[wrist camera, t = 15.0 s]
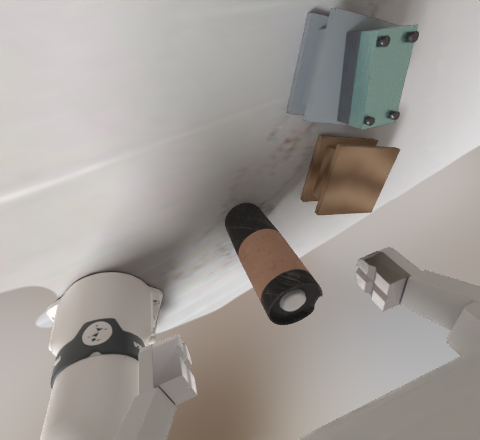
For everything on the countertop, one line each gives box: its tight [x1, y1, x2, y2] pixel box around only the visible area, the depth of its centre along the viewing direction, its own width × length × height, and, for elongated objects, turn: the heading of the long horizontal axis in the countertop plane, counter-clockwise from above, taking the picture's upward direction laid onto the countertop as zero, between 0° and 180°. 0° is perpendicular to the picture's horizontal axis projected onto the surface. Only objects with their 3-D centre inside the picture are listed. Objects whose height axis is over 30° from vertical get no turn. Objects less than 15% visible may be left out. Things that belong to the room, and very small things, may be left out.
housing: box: [337, 25, 419, 130], centre depth 31 cm, size 10×5×6 cm, turn 6°
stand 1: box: [287, 8, 400, 128], centre depth 36 cm, size 12×12×6 cm
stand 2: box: [301, 135, 400, 215], centre depth 46 cm, size 12×12×6 cm
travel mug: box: [225, 203, 322, 325], centre depth 40 cm, size 8×8×20 cm
